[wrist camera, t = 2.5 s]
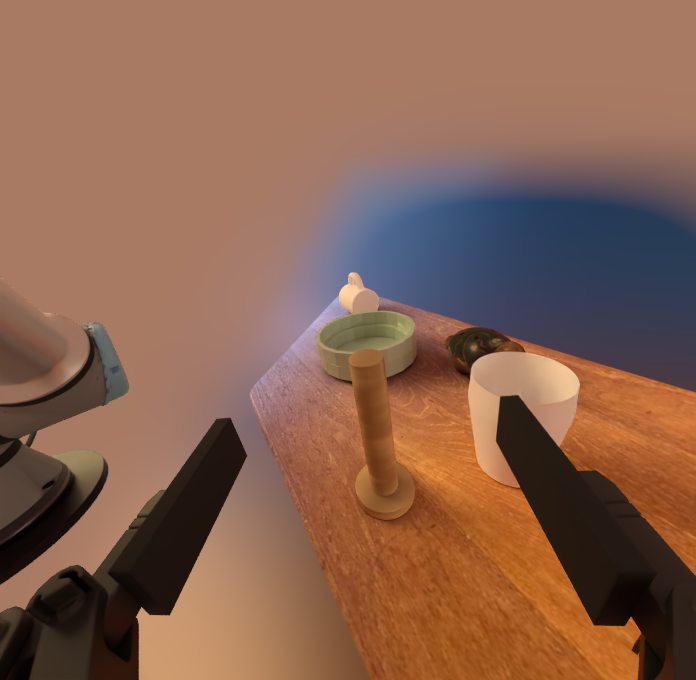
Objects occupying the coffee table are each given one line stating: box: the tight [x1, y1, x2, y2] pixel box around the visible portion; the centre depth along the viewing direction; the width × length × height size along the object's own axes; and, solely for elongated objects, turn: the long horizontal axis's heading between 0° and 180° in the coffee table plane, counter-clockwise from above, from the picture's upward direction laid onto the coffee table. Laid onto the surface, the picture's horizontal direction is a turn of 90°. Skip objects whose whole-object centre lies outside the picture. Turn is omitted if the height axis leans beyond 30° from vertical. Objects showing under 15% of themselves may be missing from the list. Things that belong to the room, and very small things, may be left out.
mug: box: [339, 273, 379, 314], centre depth 78 cm, size 8×10×12 cm
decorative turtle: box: [445, 327, 526, 375], centre depth 45 cm, size 10×15×8 cm, turn 27°
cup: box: [468, 352, 580, 488], centre depth 29 cm, size 9×9×12 cm
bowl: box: [316, 311, 417, 381], centre depth 56 cm, size 20×20×6 cm
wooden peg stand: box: [348, 349, 415, 520], centre depth 27 cm, size 6×6×17 cm
